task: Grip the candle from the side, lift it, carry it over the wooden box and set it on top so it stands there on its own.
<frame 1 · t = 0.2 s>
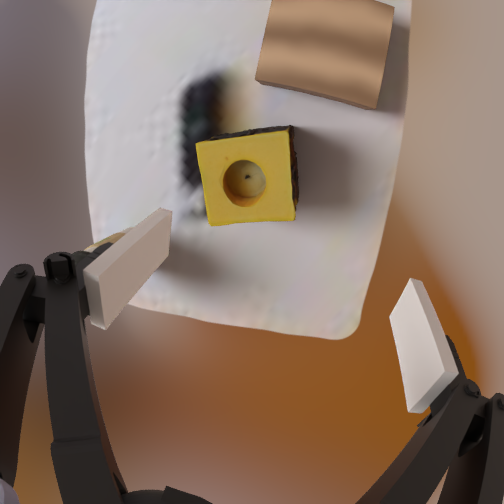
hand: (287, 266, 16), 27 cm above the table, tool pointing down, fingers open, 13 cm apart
wooden box: (324, 48, 32), on the table
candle: (260, 164, 41), on the table
coffee cup: (135, 243, 49), on the table
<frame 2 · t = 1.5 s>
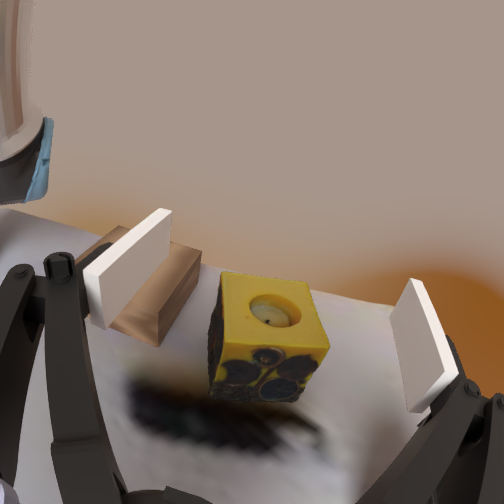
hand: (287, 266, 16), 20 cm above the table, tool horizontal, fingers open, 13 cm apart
wooden box: (134, 296, 40), on the table
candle: (249, 368, 34), on the table
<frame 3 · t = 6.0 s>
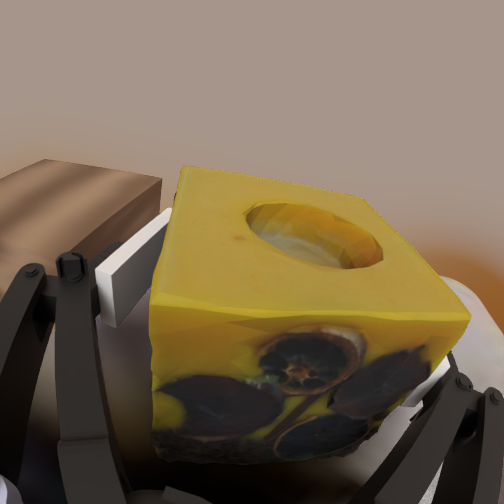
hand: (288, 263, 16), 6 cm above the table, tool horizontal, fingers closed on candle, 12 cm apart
wooden box: (54, 258, 22), on the table
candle: (249, 387, 16), on the table, touching gripper
when the fingers open (13 cm above the table, at t = 11.4 s): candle drops 2 cm, resting on wooden box.
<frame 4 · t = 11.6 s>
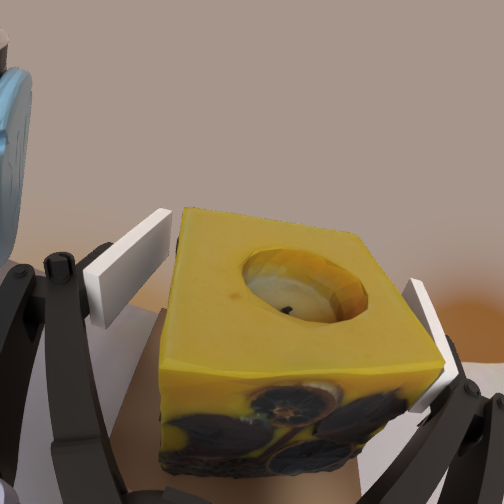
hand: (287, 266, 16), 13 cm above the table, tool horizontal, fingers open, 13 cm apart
wooden box: (230, 441, 20), on the table, touching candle
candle: (246, 407, 17), point 5 cm above the table, touching wooden box
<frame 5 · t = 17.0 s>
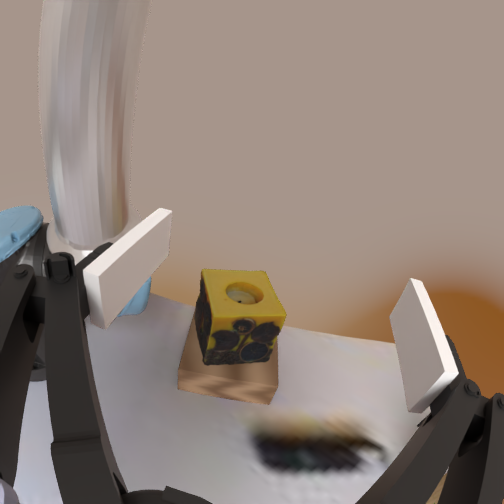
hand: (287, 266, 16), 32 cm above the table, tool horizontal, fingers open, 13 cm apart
wooden box: (227, 366, 48), on the table, touching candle
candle: (229, 341, 46), point 5 cm above the table, touching wooden box
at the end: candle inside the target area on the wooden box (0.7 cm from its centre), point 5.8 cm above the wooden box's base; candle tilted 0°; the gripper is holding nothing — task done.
